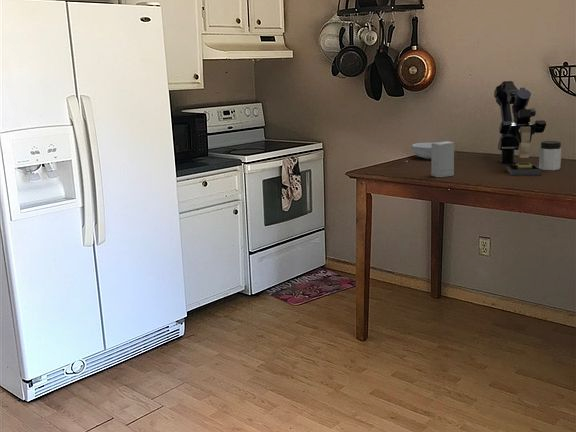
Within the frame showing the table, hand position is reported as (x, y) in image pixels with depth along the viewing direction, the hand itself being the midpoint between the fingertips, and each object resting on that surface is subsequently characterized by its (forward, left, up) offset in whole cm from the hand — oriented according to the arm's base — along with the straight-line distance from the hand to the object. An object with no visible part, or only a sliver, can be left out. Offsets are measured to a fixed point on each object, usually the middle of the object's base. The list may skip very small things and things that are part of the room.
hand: (525, 142), depth 275 cm
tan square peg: (-1, 0, -7) cm, 7 cm away
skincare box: (+4, -35, -14) cm, 38 cm away
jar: (-11, +13, -14) cm, 22 cm away
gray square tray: (-1, 0, -14) cm, 14 cm away
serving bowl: (-46, -36, -14) cm, 60 cm away
